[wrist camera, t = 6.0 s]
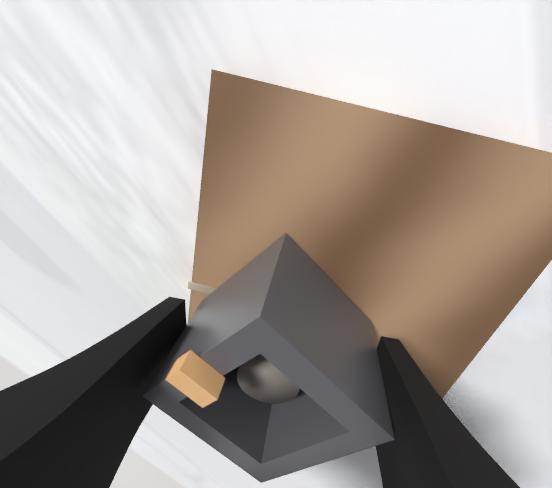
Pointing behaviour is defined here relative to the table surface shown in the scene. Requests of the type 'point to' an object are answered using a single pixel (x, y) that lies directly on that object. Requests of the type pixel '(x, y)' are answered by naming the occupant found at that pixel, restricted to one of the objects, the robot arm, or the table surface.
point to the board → (372, 218)
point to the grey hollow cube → (285, 357)
